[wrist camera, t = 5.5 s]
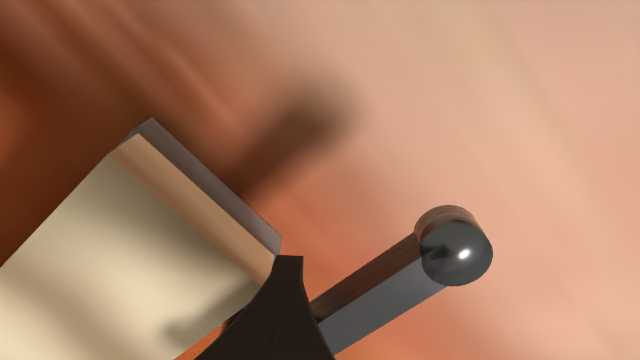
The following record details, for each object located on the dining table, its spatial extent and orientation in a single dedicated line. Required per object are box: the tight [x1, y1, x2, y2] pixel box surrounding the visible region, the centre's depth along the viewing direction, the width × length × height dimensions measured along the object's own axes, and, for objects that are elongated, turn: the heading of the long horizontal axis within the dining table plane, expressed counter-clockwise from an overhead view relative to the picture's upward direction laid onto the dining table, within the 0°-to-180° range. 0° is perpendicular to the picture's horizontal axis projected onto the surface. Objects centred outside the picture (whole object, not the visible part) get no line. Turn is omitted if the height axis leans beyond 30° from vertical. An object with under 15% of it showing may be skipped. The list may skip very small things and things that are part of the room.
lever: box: [219, 205, 493, 356], centre depth 14 cm, size 10×2×5 cm, turn 131°
